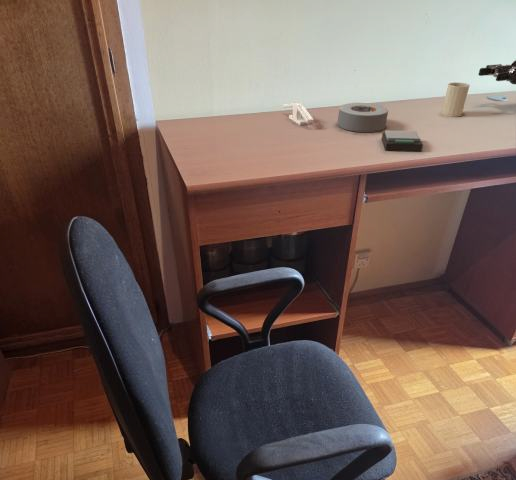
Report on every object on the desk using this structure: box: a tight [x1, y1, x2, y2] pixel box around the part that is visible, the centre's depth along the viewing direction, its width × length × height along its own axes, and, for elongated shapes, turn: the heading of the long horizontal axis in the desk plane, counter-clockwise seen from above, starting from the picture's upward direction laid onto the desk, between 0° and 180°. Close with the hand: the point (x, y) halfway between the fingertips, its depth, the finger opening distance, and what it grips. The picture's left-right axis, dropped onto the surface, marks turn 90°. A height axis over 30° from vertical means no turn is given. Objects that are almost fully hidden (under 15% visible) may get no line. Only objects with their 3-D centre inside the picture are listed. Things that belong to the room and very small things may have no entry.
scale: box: [381, 129, 424, 153], centre depth 129 cm, size 10×10×3 cm
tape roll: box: [337, 102, 389, 133], centre depth 144 cm, size 15×15×5 cm
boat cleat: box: [282, 102, 315, 126], centre depth 148 cm, size 4×20×5 cm, turn 20°
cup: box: [441, 82, 470, 118], centre depth 152 cm, size 7×7×9 cm
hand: (488, 74), depth 150 cm, fingers open, 8 cm apart
